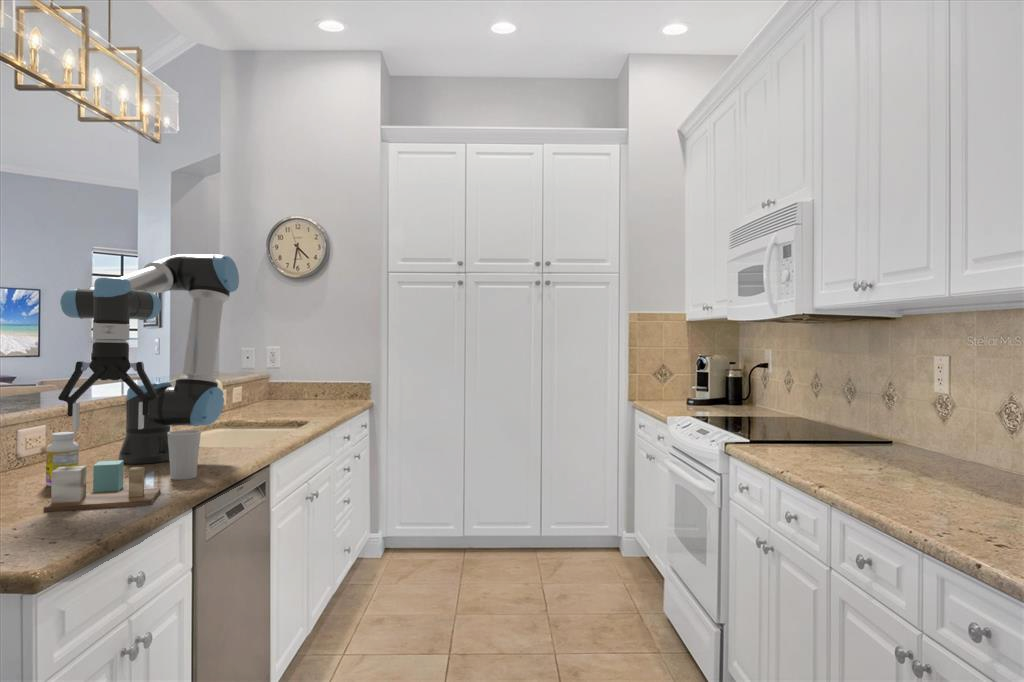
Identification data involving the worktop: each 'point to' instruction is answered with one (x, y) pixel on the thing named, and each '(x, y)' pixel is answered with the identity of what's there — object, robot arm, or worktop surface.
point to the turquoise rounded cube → (108, 476)
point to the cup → (183, 453)
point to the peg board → (73, 496)
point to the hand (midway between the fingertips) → (108, 429)
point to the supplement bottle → (61, 453)
